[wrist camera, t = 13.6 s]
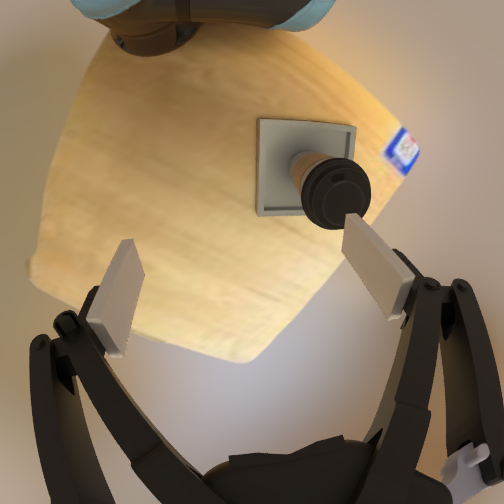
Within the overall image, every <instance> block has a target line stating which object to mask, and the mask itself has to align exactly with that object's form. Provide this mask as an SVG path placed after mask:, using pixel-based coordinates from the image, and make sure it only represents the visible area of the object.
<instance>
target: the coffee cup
mask: <svg viewBox="0 0 504 504" xmlns="http://www.w3.org/2000/svg"><path fill="white" fill-rule="evenodd" d="M288 169H289V174H290V176H291V178H292V180H293V183H294V185H295V187H296V189H297V191H298V193H299V195H300V197H301V204H302V208H303V210H304V212H305V214H306V216H307V217H308V218H309V219H310V220H311V221H312V222H313V223H314V224H316V225H318V226H319V227H321V228H324V229H329V230H338V229H344V227H345V218H346V214H353V213H357V214H358V215H359V216H360V217H361V218H362V217H363V216H364V215H365V213H366V212H367V210H368V207H369V205H370V201H371V187H370V182H369V179H368V176H367V174H366V173H365V171H364V170H363V169H362V168H361V167H360V166H359V165H358V164H357V163H355V162H354V161H352V160H349V159H346V158H336V157H333V156H329V155H326V154H322V153H315V152H311V151H303V152H299V153H297V154H296V155H294V156H293V157H292V158H291V160H290V162H289V166H288Z"/></svg>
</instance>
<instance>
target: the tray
mask: <svg viewBox="0 0 504 504" xmlns="http://www.w3.org/2000/svg"><path fill="white" fill-rule="evenodd" d="M356 129H357V127H354V126H350V125H343V124H335V123H326V122H316V121H303V120H288V119H261V118H258V130H257V175H256V213H257V216H258V217H262V216H297V215H306V214H305V212H304V210H303V208H302V204H301V197H300V195H299V193H298V191H297V189H296V187H295V185H294V183H293V180H292V178H291V176H290V174H289V169H288V166H289V162H290V160H291V158H292V157H293V156H294V155H296V154H297V153H299V152H303V151H311V152H315V153H322V154H326V155H329V156H333V157H336V158H346V159H349V160H352V161H353V158H354V149H355V139H356Z"/></svg>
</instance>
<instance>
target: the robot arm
mask: <svg viewBox="0 0 504 504" xmlns="http://www.w3.org/2000/svg"><path fill="white" fill-rule="evenodd" d="M70 1H71V2H72V4H73V5H74V6H75V7H76V8H77V9H78V10H80V12H81V13H82V14H83V15H84V16H85V17H87V18H91V19H94V20H95V21H97V22H99V23H101V24H103V25H104V26H106V27H108V28H110V30H111V35H112V37H113V40H114V41H115V43H116V44H117V45H118V46H119V47H120V48H121V49H122V50H124V51H125V52H127V53H130V54H132V55H136V56H142V57H151V56H158V55H162V54H166V53H169V52H171V51H173V50H175V49H177V48H179V47H181V46H182V45H184V44H185V43H186V42H188V41H189V40H190V39H191V38H192V37H193V36H194V35H195V33H196V32H197V31H198V29H199V28H200V26H201V24H202V22H217V23H230V24H240V25H249V26H256V27H261V28H263V29H266V30H269V29H270V30H274V29H278V30H284V31H290V32H300V31H305V30H307V29H309V28H311V27H313V26H314V25H316V24H317V23H318V22H319V21H320V20H321V19H322V18H323V17H324V16H325V15H326V14H327V13H328V11H329V10H330V9H331V7H332V6H333V4H334V3H335V1H336V0H70ZM342 253H343V254H344V255H345V257H346V258H347V260H348V261H349V262H350V264H351V265H352V267H353V268H354V270H355V271H356V273H357V274H358V275H359V277H360V278H361V280H362V281H363V283H364V285H365V286H366V288H367V289H368V291H369V292H370V294H371V295H372V297H373V298H374V299H375V301H376V303H377V304H378V306H379V307H380V309H381V311H382V312H383V314H384V315H385V317H386V319H387V320H388V321H390V320H393V319H396V318H400V315H401V313H402V310H403V309H404V311H405V312H406V317H405V319H404V321H403V324H402V326H401V328H400V329H402V333H401V337H400V341H399V345H398V348H397V352H396V356H395V359H394V363H393V366H392V370H391V373H390V376H389V379H388V382H387V385H386V388H385V391H384V394H383V397H382V400H381V403H380V405H379V408H378V411H377V413H376V416H375V418H374V421H373V423H372V426H371V428H370V430H369V431H368V433H367V435H366V436H365V438H364V440H363V442H361V441H356V440H344V437H343V435H340V436H337V437H333V438H329V439H325V440H321V441H317V442H315V443H313V444H311V445H308V446H307V447H304V448H302V449H300V450H298V451H296V452H294V453H291V454H286V455H285V454H268V453H250V454H242V455H231V456H229V461H227V462H224V463H221V464H219V465H217V466H215V467H214V468H212V469H211V470H209V471H208V472H207V473H206V474H205V475H204V476H203V475H202V474H201V473H200V472H199V471H197V470H196V469H195V468H194V467H193V466H192V465H191V464H190V463H189V462H188V461H186V460H185V459H184V458H183V457H182V456H181V455H180V453H179V452H178V451H177V450H176V449H175V448H174V447H173V446H172V445H171V444H170V443H169V442H168V441H167V440H166V439H165V438H164V436H163V435H162V434H161V433H160V432H159V431H158V429H157V428H156V427H155V426H154V425H153V424H152V422H151V421H150V420H149V419H148V417H147V416H146V415H145V414H144V413H143V411H142V410H141V409H140V407H139V406H138V405H137V404H136V402H135V401H134V400H133V398H132V397H131V396H130V394H129V393H128V392H127V390H126V389H125V387H124V386H123V385H122V383H121V382H120V380H119V379H118V378H117V376H116V374H115V373H114V372H113V370H112V369H111V367H110V365H109V364H108V362H107V361H106V359H105V358H104V355H105V351H106V352H107V353H108V355H109V356H110V357H111V358H123V357H124V354H125V350H126V345H127V341H128V337H129V332H130V328H131V324H132V320H133V316H134V312H135V308H136V305H137V301H138V297H139V294H140V290H141V287H142V283H143V280H144V276H145V274H144V271H143V268H142V265H141V262H140V259H139V256H138V253H137V249H136V246H135V243H134V240H133V239H126V240H122V241H121V243H120V245H119V247H118V249H117V251H116V253H115V255H114V257H113V259H112V261H111V263H110V265H109V267H108V269H107V271H106V273H105V275H104V278H103V280H102V282H101V284H100V286H94V287H93V288H92V289H91V290H90V291H89V293H88V295H87V297H86V299H85V300H86V301H84V304H83V306H82V308H81V310H80V313H79V315H78V316H77V314H76V313H75V312H74V311H71V310H68V311H64V312H62V313H61V314H59V315H58V316H57V317H56V319H55V320H54V323H53V327H54V329H55V330H56V332H57V333H58V335H59V336H60V337H59V338H56V339H53V340H51V339H50V338H49V336H48V335H46V334H40V335H38V336H37V337H35V338H34V339H33V340H32V342H31V344H30V357H29V359H30V361H29V362H30V363H29V364H30V365H29V368H30V393H31V406H32V416H33V424H34V431H35V437H36V443H37V448H38V453H39V458H40V463H41V467H42V471H43V474H44V478H45V482H46V485H47V489H48V492H49V495H50V498H51V504H115V501H114V498H113V496H112V494H111V492H110V489H109V487H108V484H107V482H106V480H105V477H104V475H103V472H102V470H101V467H100V464H99V462H98V459H97V456H96V453H95V450H94V447H93V444H92V441H91V438H90V435H89V431H88V428H87V424H86V421H85V416H84V413H83V408H82V404H81V400H80V396H79V391H78V386H77V381H76V375H78V377H79V378H80V381H81V383H82V385H83V387H84V389H85V390H86V392H87V394H88V396H89V398H90V400H91V401H92V403H93V405H94V407H95V408H96V410H97V412H98V414H99V415H100V417H101V419H102V420H103V422H104V423H105V425H106V426H107V428H108V430H109V431H110V432H111V434H112V436H113V437H114V439H115V440H116V442H117V443H118V444H119V446H120V447H121V449H122V450H123V451H124V453H125V454H126V456H127V457H128V458H129V460H130V462H131V467H132V469H133V470H134V472H135V473H136V475H137V476H138V477H139V478H140V480H141V481H142V482H143V483H144V484H145V486H146V487H147V488H148V489H149V490H150V491H151V493H152V494H153V495H154V496H155V497H156V498H157V499H158V500H159V501H160V502H161V503H162V504H462V503H464V502H465V501H467V500H468V499H470V498H472V497H473V496H475V495H476V494H478V493H479V492H481V491H482V490H485V489H487V488H489V487H492V486H494V485H496V484H498V483H500V482H503V481H504V406H503V398H502V392H501V386H500V381H499V376H498V371H497V366H496V362H495V358H494V354H493V350H492V346H491V343H490V339H489V336H488V332H487V329H486V325H485V323H484V319H483V316H482V313H481V310H480V308H479V305H478V302H477V300H476V297H475V294H474V292H473V289H472V287H471V286H470V284H469V283H468V282H467V281H465V280H463V279H455V280H453V282H452V284H451V286H441V285H440V283H439V282H438V281H437V280H435V279H433V278H429V277H424V276H423V275H422V274H421V273H420V272H419V271H418V269H417V268H416V267H415V266H414V265H413V264H411V262H410V261H409V260H408V259H407V257H406V256H405V255H404V254H403V253H402V252H400V251H398V250H397V249H391V248H390V247H389V246H388V245H387V244H386V243H385V242H384V241H383V240H382V239H381V237H380V236H379V235H378V234H376V232H375V231H374V230H373V229H372V228H371V227H370V226H369V225H368V224H367V223H366V222H365V221H364V220H363V219H362V218H361V217H360V216H359V215H358V214H357V213H353V214H346V218H345V227H344V235H343V243H342ZM439 343H440V349H441V356H442V364H443V373H444V384H445V400H446V447H447V456H448V459H447V460H446V462H445V465H444V467H443V468H442V470H441V476H442V477H443V480H442V482H439V481H437V480H435V479H433V478H431V477H429V476H426V475H424V474H423V473H421V472H419V471H417V470H415V468H416V466H417V463H418V460H419V457H420V454H421V451H422V448H423V445H424V441H425V438H426V434H427V431H428V427H429V423H430V419H431V411H429V410H428V403H429V399H430V394H431V389H432V384H433V379H434V373H435V367H436V360H437V352H438V344H439Z"/></svg>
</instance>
